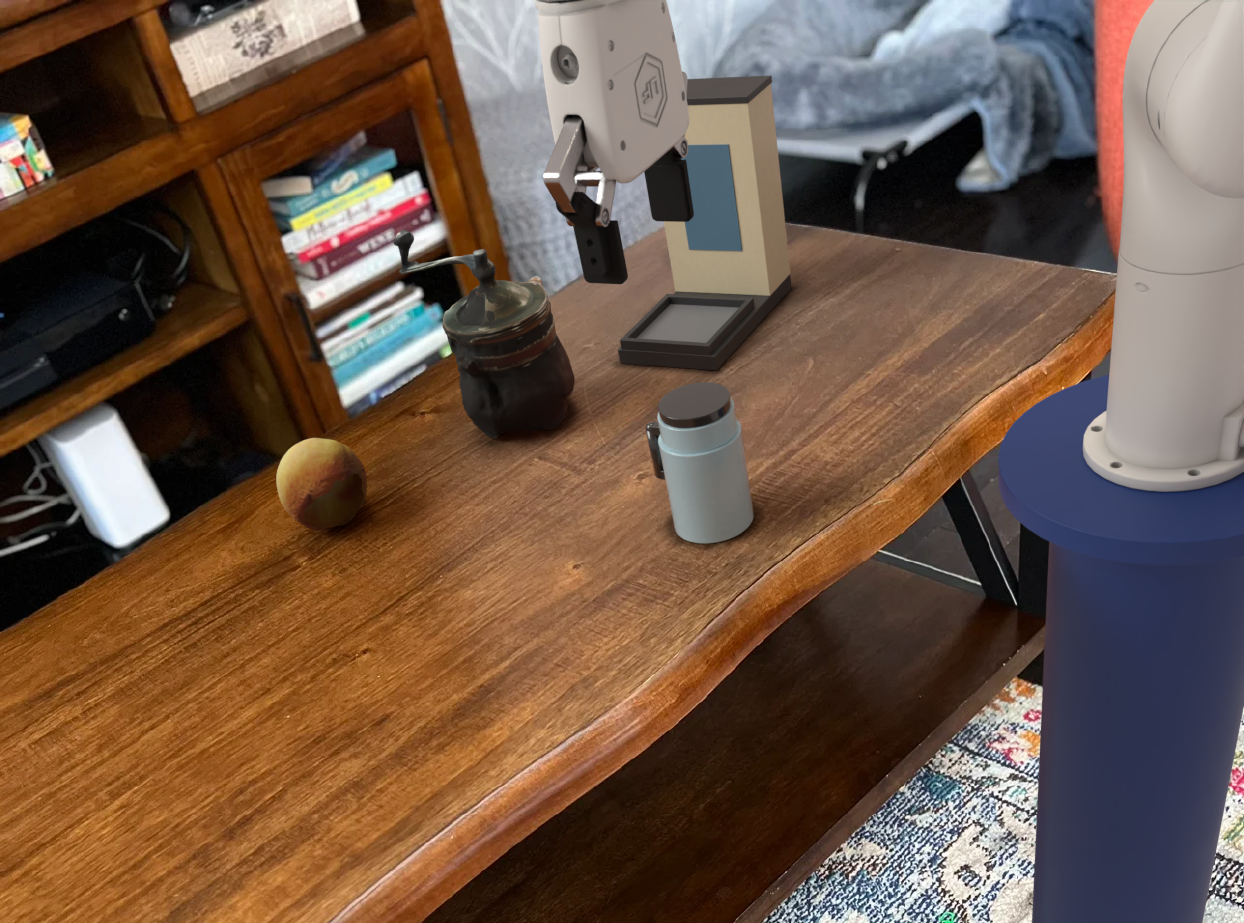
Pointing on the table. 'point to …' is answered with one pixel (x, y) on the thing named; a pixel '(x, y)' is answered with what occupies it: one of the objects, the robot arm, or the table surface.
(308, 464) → the fruit
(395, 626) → the table surface
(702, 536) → the carafe
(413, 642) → the table surface
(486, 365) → the coffee grinder
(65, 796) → the table surface
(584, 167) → the robot arm
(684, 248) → the coffee maker
